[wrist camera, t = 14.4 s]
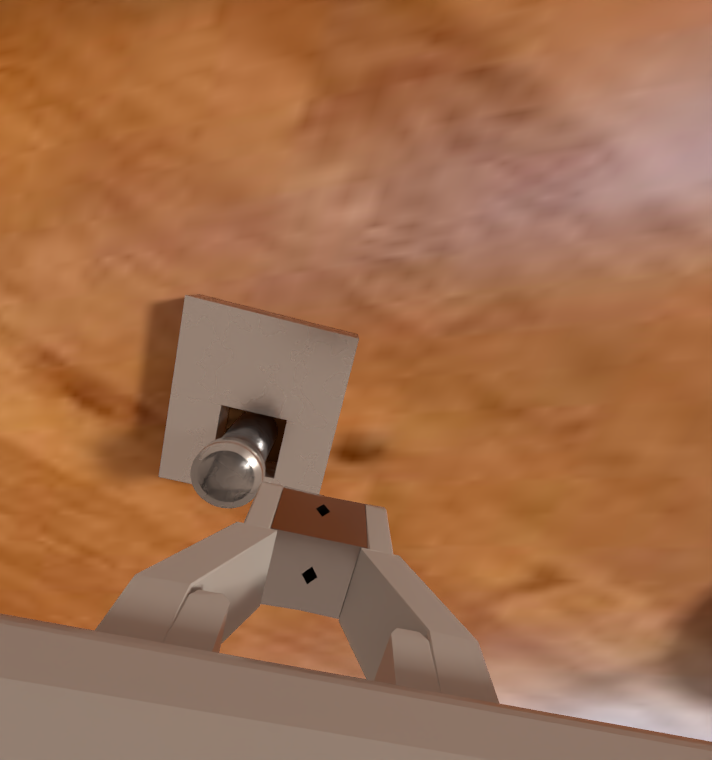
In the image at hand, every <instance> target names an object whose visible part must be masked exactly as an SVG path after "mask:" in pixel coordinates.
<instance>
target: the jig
mask: <svg viewBox="0 0 712 760" xmlns="http://www.w3.org/2000/svg"><path fill="white" fill-rule="evenodd" d="M358 341H359V337H358V334H355V333H351V332H347V331H343V330H339V329H335V328H331V327H327V326H323V325H319V324H315V323H311V322H307V321H303V320H299V319H295V318H291V317H287V316H283V315H279V314H275V313H271V312H267V311H263V310H259V309H255V308H252V307H248V306H244V305H240V304H236V303H232V302H228V301H224V300H220V299H216V298H212V297H208V296H204V295H200V294H198V295H185V300H184V307H183V313H182V320H181V327H180V334H179V341H178V347H177V354H176V361H175V368H174V375H173V381H172V388H171V395H170V402H169V409H168V415H167V422H166V429H165V436H164V443H163V449H162V456H161V463H160V470H159V477H162V478H167V479H171V480H176V481H181V482H185V483H190V484H192V482H191V476H190V472H191V466H192V463H193V461H194V459H195V457H196V456H197V455H198V454H199V453H200V452H201V450H202V449H203V448H204V447H205V446H206V445H207V444H209V443H210V442H212V441H214V440H216V439H219V438H222V437H223V436H224V434H225V430H226V424H227V419H228V413H229V408H230V407H232V408H237V409H241V410H245V411H250V412H254V413H258V414H263V415H267V416H271V417H276V418H280V419H284V420H287V423H286V427H285V432H284V436H283V441H282V445H281V449H280V454H279V458H278V463H277V462H272V461H268V460H266V461H265V477H264V480H263V481H264V482H269V483H274V484H279V485H283V487H284V486H287V487H291V488H295V489H299V490H303V491H307V492H312V493H316V494H319V492H320V488H321V485H322V481H323V477H324V473H325V469H326V465H327V461H328V457H329V453H330V450H331V446H332V442H333V438H334V434H335V430H336V426H337V422H338V418H339V414H340V411H341V407H342V403H343V399H344V395H345V391H346V387H347V383H348V379H349V376H350V372H351V368H352V364H353V360H354V356H355V352H356V348H357V344H358Z"/></svg>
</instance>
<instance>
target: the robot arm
mask: <svg viewBox="0 0 712 760" xmlns="http://www.w3.org/2000/svg"><path fill="white" fill-rule="evenodd" d="M260 604H265V605H271V606H277V607H284V608H290V609H296V610H301V611H306V612H310V613H315V614H319V615H324V616H328V617H333V618H337V619H339V623H340V625H341V627H342V629H343V631H344V633H345V635H346V637H347V639H348V641H349V643H350V646H351V648H352V650H353V652H354V654H355V656H356V658H357V660H358V662H359V664H360V666H361V669H362V671H363V673H364V675H365V677H366V679H361V678H356V677H350V676H344V675H339V674H333V673H328V672H322V671H316V670H311V669H305V668H300V667H294V666H289V665H283V664H277V663H272V662H266V661H261V660H255V659H250V658H244V657H238V656H233V655H227V654H222V653H219V650H220V646H221V644H222V643H223V642H224V641H225V640H226V639H227V638H228V637H229V636H230V635H231V634H232V633H233V632H234V631H235V630H236V629H237V628H238V627H239V626H240V625H241V624H242V623H243V622H244V621H245V620H246V619H247V618H248V617H249V616H250V615H251V614H252V613H253V612H254V611H255V610H256V609H257V608H258V607H259V606H260ZM0 760H712V742H710V741H704V740H698V739H693V738H687V737H682V736H676V735H671V734H665V733H660V732H654V731H649V730H643V729H638V728H632V727H627V726H621V725H616V724H610V723H604V722H599V721H593V720H587V719H582V718H576V717H570V716H564V715H559V714H553V713H547V712H542V711H536V710H531V709H526V708H520V707H515V706H509V705H504V704H499V701H498V698H497V695H496V692H495V689H494V686H493V683H492V681H491V678H490V675H489V672H488V669H487V666H486V663H485V660H484V657H483V654H482V651H481V648H480V646H479V643H478V641H477V640H476V639H475V638H474V637H473V636H472V635H471V634H470V632H469V631H468V630H467V629H466V628H465V627H464V626H463V625H462V624H461V623H460V622H459V620H458V619H457V618H456V617H455V616H454V615H453V614H452V613H451V612H450V611H449V610H448V608H447V607H446V606H445V605H444V604H443V603H442V602H441V601H440V600H439V599H438V597H437V596H436V595H435V594H434V593H433V592H432V591H431V590H430V589H429V588H428V587H427V585H426V584H425V583H424V582H423V581H422V580H421V579H420V578H419V577H418V576H417V575H416V573H415V572H414V571H413V570H412V569H411V568H410V567H409V566H408V565H407V564H406V563H405V561H404V560H403V559H402V558H401V557H400V556H398V555H394V554H393V550H392V544H391V537H390V531H389V524H388V518H387V511H386V509H385V508H384V507H380V506H374V505H368V504H362V503H357V502H352V501H346V500H341V499H336V498H331V497H326V496H324V495H320V494H316V493H312V492H307V491H303V490H299V489H295V488H291V487H287V486H284V487H283V485H279V484H274V483H269V482H264V481H263V482H262V483H261V484H260V487H259V489H258V491H257V493H256V496H255V498H254V500H253V503H252V505H251V507H250V510H249V512H248V514H247V517H246V519H245V521H244V523H241V522H236V523H234V524H232V525H230V526H228V527H226V528H224V529H223V530H221V531H219V532H217V533H215V534H213V535H211V536H209V537H207V538H205V539H203V540H201V541H199V542H197V543H195V544H194V545H192V546H190V547H188V548H186V549H184V550H182V551H180V552H178V553H176V554H174V555H172V556H170V557H168V558H167V559H165V560H163V561H161V562H159V563H157V564H155V565H153V566H151V567H149V568H147V569H145V570H143V571H141V572H139V573H138V574H136V575H135V576H134V577H133V578H132V580H131V581H130V583H129V584H128V585H127V587H126V588H125V589H124V591H123V592H122V594H121V595H120V596H119V598H118V599H117V600H116V602H115V603H114V605H113V606H112V607H111V609H110V610H109V612H108V613H107V614H106V616H105V617H104V618H103V620H102V621H101V623H100V624H99V625H98V627H97V628H96V629H95V631H94V630H89V629H83V628H78V627H72V626H67V625H61V624H56V623H50V622H44V621H39V620H33V619H28V618H22V617H17V616H11V615H6V614H0Z"/></svg>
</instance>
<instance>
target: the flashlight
mask: <svg viewBox="0 0 712 760" xmlns="http://www.w3.org/2000/svg"><path fill="white" fill-rule="evenodd" d="M277 434H278V427H277V424H276V422H275V420H274V419H273V417H271V416H267V415H263V414H258V413H254V412H250V411H247V412H245V413H243V414H242V415H241V416H240V417H239V418H238V419H237V420H236V421H235V423H234V424H233V425H232V426H231V427H230V428H229V430H228V431H227V432H226V433H225V434H224V436H223V437H222V438H219V439H216V440H214V441H212V442H210V443H209V444H207V445H206V446H205V447H204V448H203V449H202V450H201V452H200V453H199V454H198V455H197V456H196V457H195V459H194V461H193V463H192V466H191V472H190V476H191V482H192V485H193V487H194V489H195V491H196V492H197V493H198V495H199V496H200V497H201V498H202V499H204V500H205V501H206V502H208V503H210V504H212V505H214V506H217V507H221V508H236V507H240V506H243V505H245V504H247V503H248V502H250V501H251V500H252V499H253V498H254V497H255V496H256V493H257V491H258V489H259V487H260V484H261V483H262V482H263V480H264V477H265V461H266V459H267V457H268V455H269V452H270V450H271V448H272V446H273V444H274V442H275V440H276V438H277Z"/></svg>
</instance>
